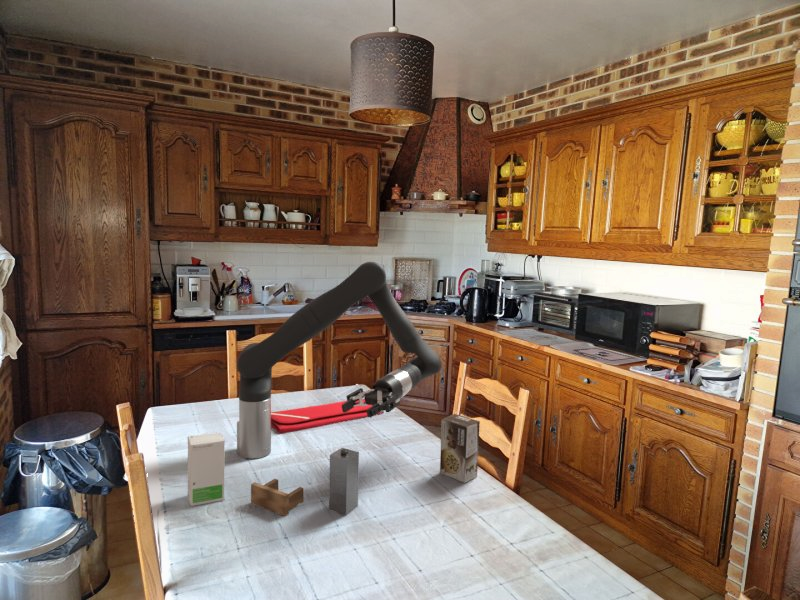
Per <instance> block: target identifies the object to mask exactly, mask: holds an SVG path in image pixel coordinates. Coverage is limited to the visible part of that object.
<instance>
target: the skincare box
mask: <svg viewBox="0 0 800 600" xmlns="http://www.w3.org/2000/svg"><path fill="white" fill-rule="evenodd" d="M186 438H187V498H188V502H189V506H190V507H191V506H192V507H194V506H198V505H204V504H208V503H214V502H221V501H225V449H226V448H225V445H226V444H225V442H226V441H225V438H224V435H223V433H222V432H215V433H214V432H213V433H201V434H194V435H188V436H187V437H186Z"/></svg>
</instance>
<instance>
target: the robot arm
mask: <svg viewBox="0 0 800 600" xmlns="http://www.w3.org/2000/svg"><path fill="white" fill-rule="evenodd" d="M365 298H369V299H370V301H371V302H372V304H374V306H375V308H376V309H377V311H378V312H379V313H380V316H381V317H382V319H383V321H384V322H385V324H386V326H387V329H388V331H389V332H390V334H391V336H392V337H393V339H394V341H395V342H396V344H397V346H398V347H399V349H400V350H401V351H402V352H403V354H404V353H405V354H414V355H416V356H415V357H414V358H411V359H410V360H409V361H407V362H406V363H405V364H404V365H402V366H401V367H399V368H396V369H394V370H393V371H391V372H389V373H388V374H385V375H384V376H381V378H379V379H377V380H376V381H374V383H373V385H372V388H371V389H368V390H366V391H364V389H363V387H362V388H361V387H360V388H358V389H356V390H355V391H353V392H350V393H349V394H347V395H346V401H347V402H345V403H344V404H342V411H343V412H347V411H349V410H350V409H352V408H353V407H355V406H359V405H360V406H361V407H362V406H366V405H373V406H371V407H370V408H368V409H367V416H368V417H367V418H372V417H374V416H377V415H376V414H377V413H379V412H383V411H385V413H390V412H391V411H393V410H394V409H395V408H396V407H398V406H399V405H400V404H401V399H402V398H403V397H404V396H406V395H407V394H408V393H409V392H410V391H411V390H413V389H414V388H415V387H417V386H418V385H419V384H420V383H421V381H423V380H425V379H427V378H429V377H432V376H435V375H437V374H438V373H440V371H441V370H442V365H443V364H442V360H441V358H440V356H439V354H438V353H437V352H436V351H435V350H434V348H433V347H431V346H430V345H429V344H428V343H427V342H426V341H425V340H424V339H423V338H422V337H421V335H420V334H419V332H418V330H417V329H416V327H415V326H414V324H413V322H412V321H411V319H410V318H409V317H408V315H407V314H406V313H405V311H404V310H403V309H402V308H401V306H400V305H399V303H398V301H397V300H396V298H395V297H394V295H393V293H392V292H391V289H390V288H389V284H388V282H387V274H386V271H385V269H384V266H382V265H381V264H380V263H377V262H374V261H367V262H363V263H362V264H360V265H359V266H358V267H357V268H356V269H355V270H354V271H353V272H352V273H351V274H350V275H348V276H347V277H346V278H345V279H344V280H343V281H342V282H340V283H339V284H337V285H336V286H335V287H333V288H331V289H329V290H328V291H326V292H324V293H322V294H320V295H319V296H317V297H315V298H313V299H312V300H310V301H309V302H308V303H306V304H305V305H304V306H302V307H301V308H299V310H297V311H296V312H294V313H293V314H291V316H290V317H289V318H287V320H286V321H284V323H282V324H281V325H280V326H279V327H278V328H277V330H275V331H274V332H273V333H272V334H271V335H269V336H268V337H266V338H265V339H263V340H262V341H259V342H253V343H252V342H251V343H249V344H247V345H246V346H244V347H243V348H242V351H241V352H240V353H239V355H238V357H237V362H236V367H237V371H238V373H239V388H238V418H239V419H238V421H237V422H236V452H237V453H238V454H239V455H240V457H242V458H244V459H261V458H263V457H267V456H268V455H269V454H271V452H272V426H271V412H272V397H271V396H272V384H273V383H272V382H273V381H272V379H273V378H272V370H273V367H274V366H275V365H276V364H277V363H279V362H280V361H281V360H282V359H283V358H285V357H286V356H287V355H288V354H290V353H291V352H293V351H294V350H297V348H300V347H302V346H303V345H305V344H306V343H307V342H310V341H311V340H312V339H313V338H315V337H317V336H318V335H319V334H321V333H322V332H323V331H325V330H326V329H327V328H330V326H332V325H333V324H334V323H335V322H336V321H337V320H338V319H340V318H341V316H343V315H344V314H345V313H346V312H347V311H348V310H349V309H351V307H353V306H354V305H355V304H357V303H358V302H360V301H362V300H363V299H365ZM362 399H365V402H364V403H363V401H362ZM358 400H359V402H357V401H358ZM355 402H357V403H355Z"/></svg>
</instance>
